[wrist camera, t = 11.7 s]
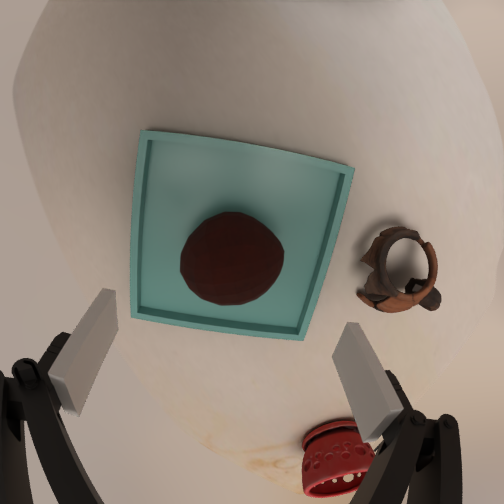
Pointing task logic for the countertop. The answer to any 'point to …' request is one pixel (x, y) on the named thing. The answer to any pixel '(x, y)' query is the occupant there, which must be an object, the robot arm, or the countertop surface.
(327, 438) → the plant pot
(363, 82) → the countertop surface
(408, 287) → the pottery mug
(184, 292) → the teal tray
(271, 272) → the dark brown oval
